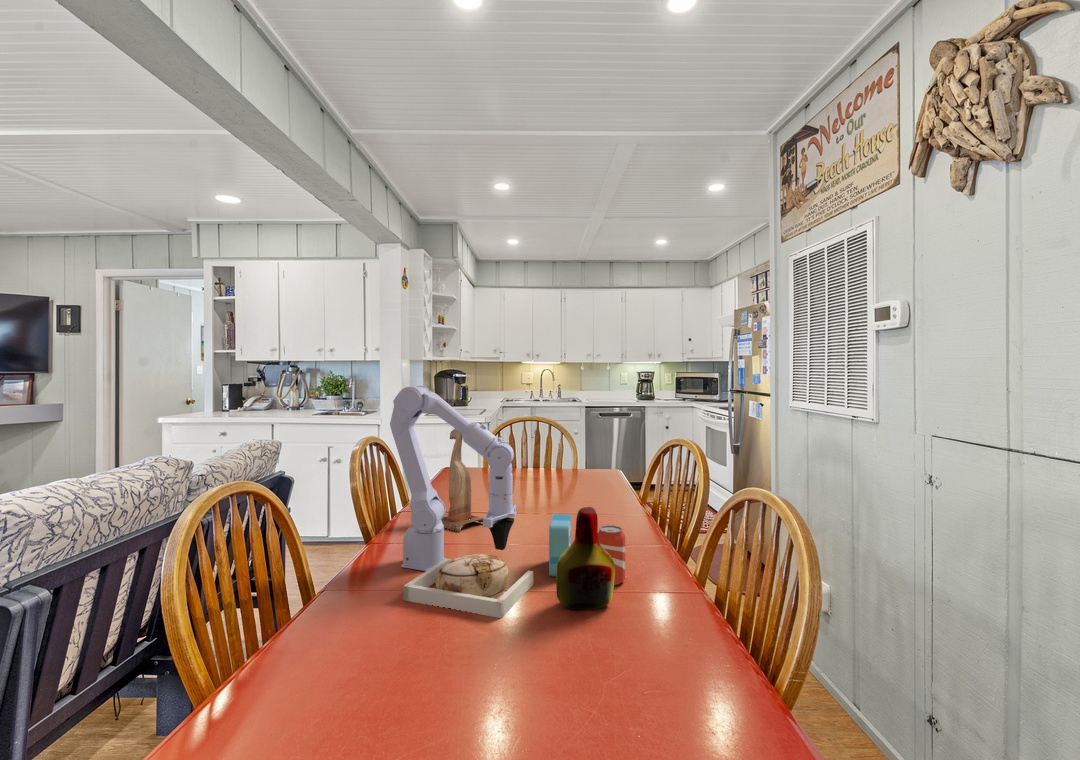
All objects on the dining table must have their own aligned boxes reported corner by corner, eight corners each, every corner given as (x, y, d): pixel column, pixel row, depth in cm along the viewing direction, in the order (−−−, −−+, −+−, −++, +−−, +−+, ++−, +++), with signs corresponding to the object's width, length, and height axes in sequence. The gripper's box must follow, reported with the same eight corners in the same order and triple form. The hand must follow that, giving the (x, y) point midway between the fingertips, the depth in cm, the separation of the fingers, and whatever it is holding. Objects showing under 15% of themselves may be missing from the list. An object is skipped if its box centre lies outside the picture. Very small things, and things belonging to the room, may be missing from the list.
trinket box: (426, 601, 108) (426, 563, 108) (466, 575, 122) (466, 542, 121) (481, 614, 102) (481, 574, 102) (517, 585, 116) (517, 550, 116)
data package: (568, 579, 119) (568, 527, 119) (549, 578, 119) (549, 526, 119) (571, 560, 131) (571, 513, 131) (553, 559, 131) (553, 512, 131)
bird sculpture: (460, 519, 169) (457, 420, 168) (487, 524, 162) (484, 421, 162) (434, 527, 160) (431, 423, 159) (462, 533, 153) (458, 424, 153)
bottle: (612, 599, 109) (612, 503, 108) (617, 613, 102) (617, 512, 102) (555, 599, 109) (555, 504, 108) (556, 613, 102) (556, 512, 102)
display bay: (403, 600, 108) (403, 585, 108) (445, 571, 124) (445, 558, 124) (501, 618, 100) (501, 602, 100) (533, 584, 116) (533, 571, 116)
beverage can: (627, 578, 119) (627, 526, 119) (619, 589, 114) (619, 534, 113) (602, 574, 122) (602, 523, 122) (593, 584, 116) (593, 530, 116)
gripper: (502, 501, 118) (502, 561, 118) (527, 488, 131) (526, 541, 132) (475, 498, 120) (474, 556, 121) (502, 485, 134) (501, 538, 134)
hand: (500, 548), depth 126 cm, fingers closed
